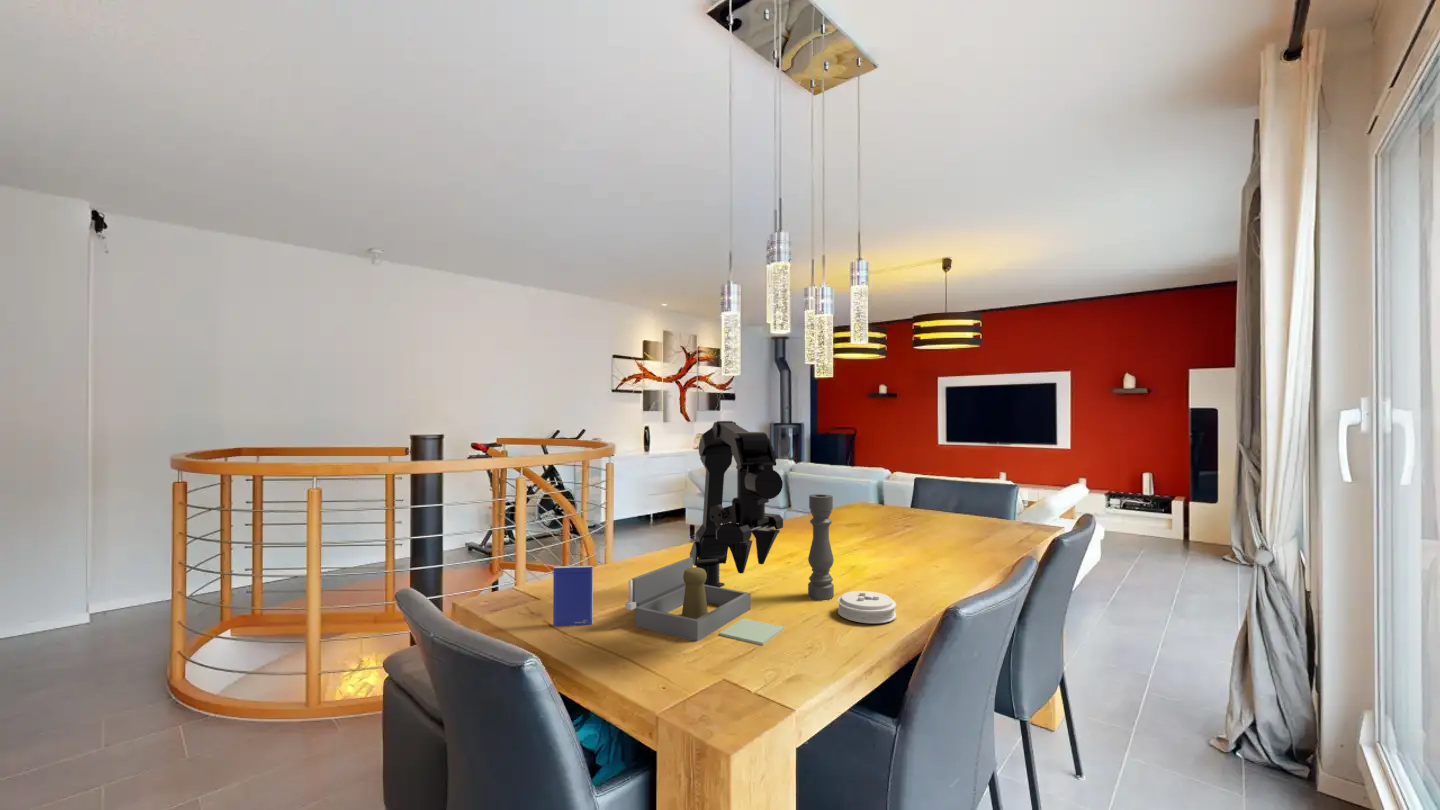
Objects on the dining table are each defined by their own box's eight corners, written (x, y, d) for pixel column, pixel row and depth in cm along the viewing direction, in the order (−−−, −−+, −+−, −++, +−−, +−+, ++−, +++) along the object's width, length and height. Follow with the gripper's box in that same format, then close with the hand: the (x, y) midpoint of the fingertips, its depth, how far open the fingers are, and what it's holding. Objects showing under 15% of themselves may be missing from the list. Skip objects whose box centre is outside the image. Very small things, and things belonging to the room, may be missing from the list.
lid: (906, 625, 130) (906, 602, 130) (851, 629, 127) (851, 606, 127) (879, 606, 142) (879, 585, 142) (829, 610, 140) (829, 588, 140)
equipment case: (688, 598, 148) (688, 557, 148) (750, 610, 139) (750, 566, 139) (625, 627, 128) (625, 580, 128) (693, 644, 119) (693, 593, 119)
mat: (743, 621, 132) (743, 618, 132) (784, 629, 126) (784, 627, 126) (719, 635, 123) (719, 632, 123) (762, 645, 118) (762, 642, 118)
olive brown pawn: (688, 624, 129) (688, 573, 129) (676, 616, 135) (677, 566, 135) (713, 620, 132) (713, 570, 132) (701, 612, 138) (701, 563, 138)
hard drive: (592, 625, 129) (592, 567, 129) (552, 626, 128) (553, 568, 128) (592, 622, 131) (593, 565, 131) (554, 624, 130) (554, 566, 130)
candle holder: (837, 596, 149) (837, 495, 149) (827, 603, 144) (827, 498, 144) (814, 592, 152) (814, 493, 152) (803, 599, 147) (804, 496, 147)
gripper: (739, 486, 137) (739, 554, 137) (693, 495, 121) (693, 573, 121) (784, 489, 131) (784, 561, 131) (741, 499, 116) (741, 581, 115)
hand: (751, 568), depth 125 cm, fingers open, 8 cm apart
